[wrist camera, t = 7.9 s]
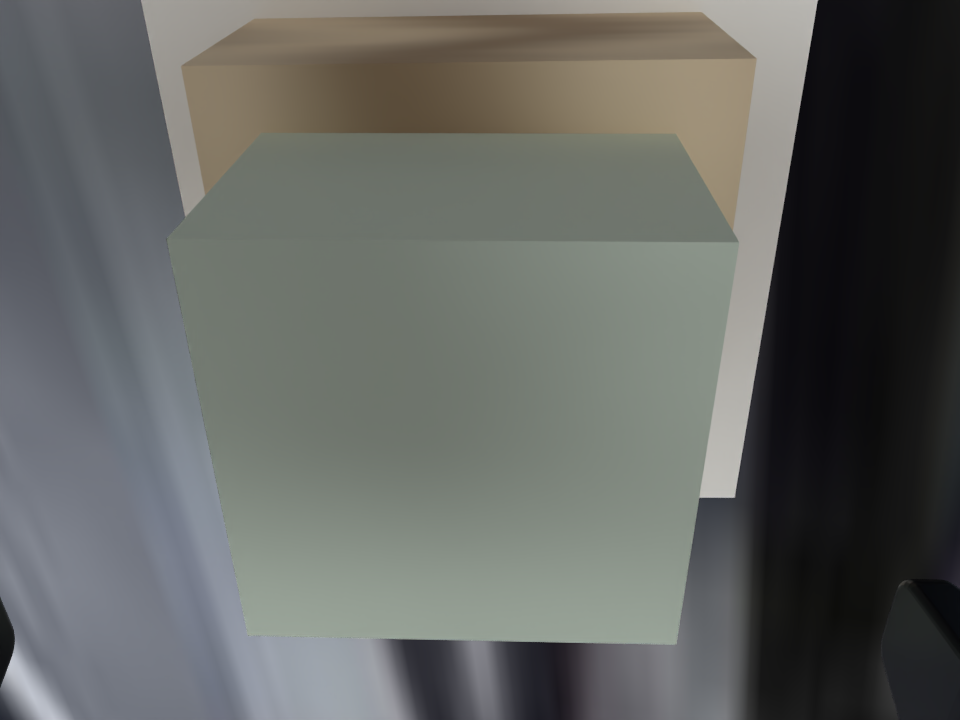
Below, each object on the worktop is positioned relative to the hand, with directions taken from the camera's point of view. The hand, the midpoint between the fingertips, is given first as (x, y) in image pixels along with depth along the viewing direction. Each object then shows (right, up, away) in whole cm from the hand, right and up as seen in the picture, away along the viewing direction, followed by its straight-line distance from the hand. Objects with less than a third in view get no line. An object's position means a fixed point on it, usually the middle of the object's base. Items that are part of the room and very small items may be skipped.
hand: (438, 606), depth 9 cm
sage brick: (0, +3, +5) cm, 6 cm away
